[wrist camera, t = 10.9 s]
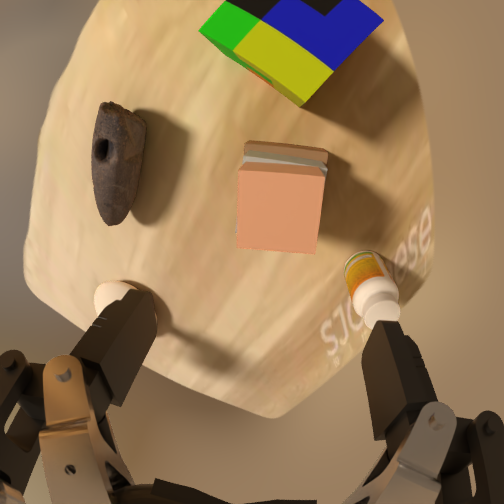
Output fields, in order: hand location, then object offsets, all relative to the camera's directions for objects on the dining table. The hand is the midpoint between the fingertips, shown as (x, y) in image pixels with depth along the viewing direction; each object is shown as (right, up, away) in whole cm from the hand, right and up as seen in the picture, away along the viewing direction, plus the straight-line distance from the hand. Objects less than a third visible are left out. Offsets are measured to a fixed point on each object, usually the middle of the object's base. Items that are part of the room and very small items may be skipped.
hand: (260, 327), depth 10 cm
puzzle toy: (+4, +24, +14) cm, 28 cm away
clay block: (+2, +7, +14) cm, 16 cm away
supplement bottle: (+14, +1, +25) cm, 29 cm away
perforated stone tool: (-15, +14, +22) cm, 30 cm away
